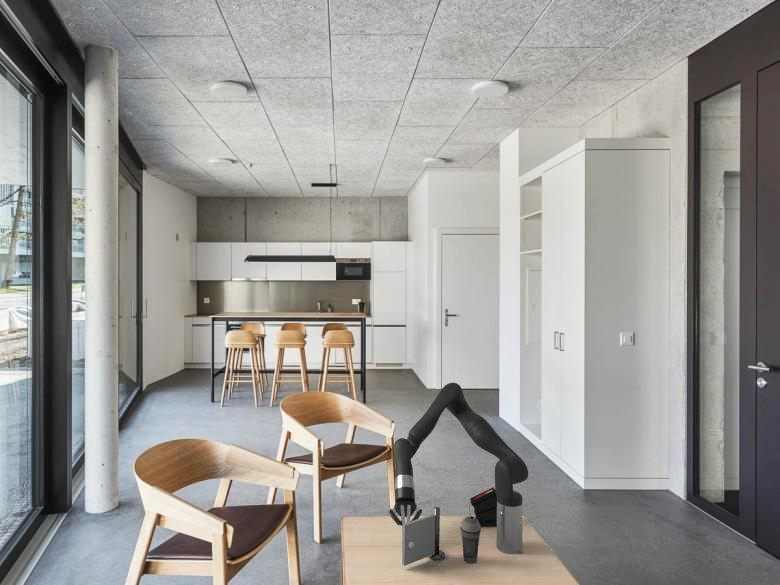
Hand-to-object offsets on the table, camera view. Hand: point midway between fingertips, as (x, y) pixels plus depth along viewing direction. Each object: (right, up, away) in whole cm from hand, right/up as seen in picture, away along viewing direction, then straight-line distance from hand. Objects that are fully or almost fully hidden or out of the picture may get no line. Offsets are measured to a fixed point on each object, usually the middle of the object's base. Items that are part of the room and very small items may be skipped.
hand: (406, 536), depth 203 cm
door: (+4, -5, -8) cm, 10 cm away
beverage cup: (+22, -7, -5) cm, 24 cm away
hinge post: (+11, -6, -2) cm, 13 cm away
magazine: (+33, -6, +24) cm, 41 cm away
